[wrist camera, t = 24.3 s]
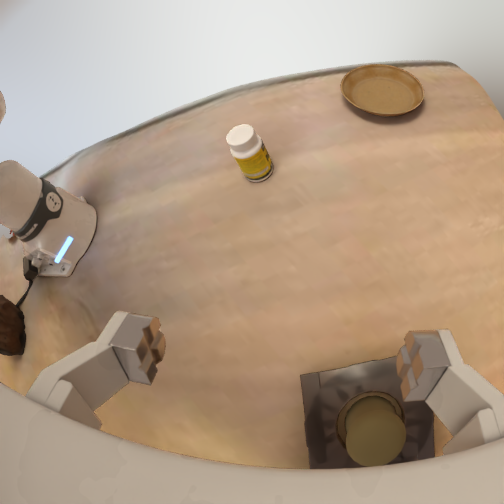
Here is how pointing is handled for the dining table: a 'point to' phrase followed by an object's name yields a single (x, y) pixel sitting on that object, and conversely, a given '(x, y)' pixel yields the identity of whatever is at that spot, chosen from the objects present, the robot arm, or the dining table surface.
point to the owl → (11, 328)
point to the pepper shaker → (374, 431)
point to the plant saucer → (382, 90)
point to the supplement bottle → (249, 153)
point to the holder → (346, 388)
